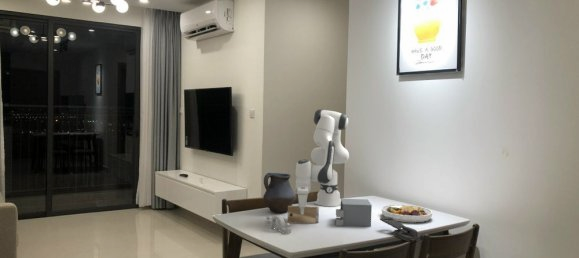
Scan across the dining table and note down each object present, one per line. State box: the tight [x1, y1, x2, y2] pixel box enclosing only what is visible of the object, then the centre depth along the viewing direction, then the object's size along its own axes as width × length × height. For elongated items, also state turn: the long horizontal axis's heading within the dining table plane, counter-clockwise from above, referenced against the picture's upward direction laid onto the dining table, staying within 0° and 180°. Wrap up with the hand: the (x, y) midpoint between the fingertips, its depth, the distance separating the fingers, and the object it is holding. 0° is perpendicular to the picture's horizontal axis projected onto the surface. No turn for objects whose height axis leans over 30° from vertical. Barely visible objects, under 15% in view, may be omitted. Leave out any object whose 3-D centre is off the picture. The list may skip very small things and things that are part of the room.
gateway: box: [264, 214, 292, 235], centre depth 246 cm, size 20×2×8 cm, turn 39°
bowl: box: [381, 204, 433, 224], centre depth 281 cm, size 30×30×8 cm
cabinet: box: [335, 198, 373, 227], centre depth 265 cm, size 18×20×12 cm
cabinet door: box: [287, 205, 320, 224], centre depth 262 cm, size 4×18×9 cm, turn 88°
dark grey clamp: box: [379, 216, 421, 242], centre depth 242 cm, size 9×7×25 cm
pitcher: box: [262, 172, 297, 214], centre depth 287 cm, size 21×22×25 cm
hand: (302, 212), depth 263 cm, fingers open, 8 cm apart
